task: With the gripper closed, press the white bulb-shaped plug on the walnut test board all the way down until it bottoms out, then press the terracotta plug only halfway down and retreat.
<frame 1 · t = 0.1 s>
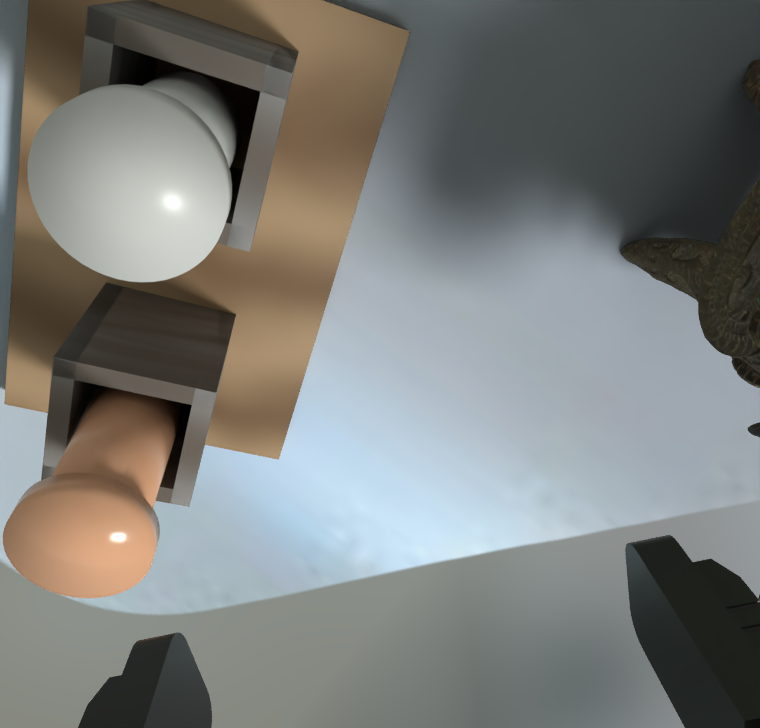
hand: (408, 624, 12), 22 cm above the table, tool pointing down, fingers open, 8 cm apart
vessel: (742, 199, 32), on the table
white bulb-shaped plug: (163, 154, 19), point 10 cm above the table, slide at 0.0 cm
board: (187, 232, 31), on the table
terracotta plug: (113, 469, 25), point 10 cm above the table, slide at 0.0 cm
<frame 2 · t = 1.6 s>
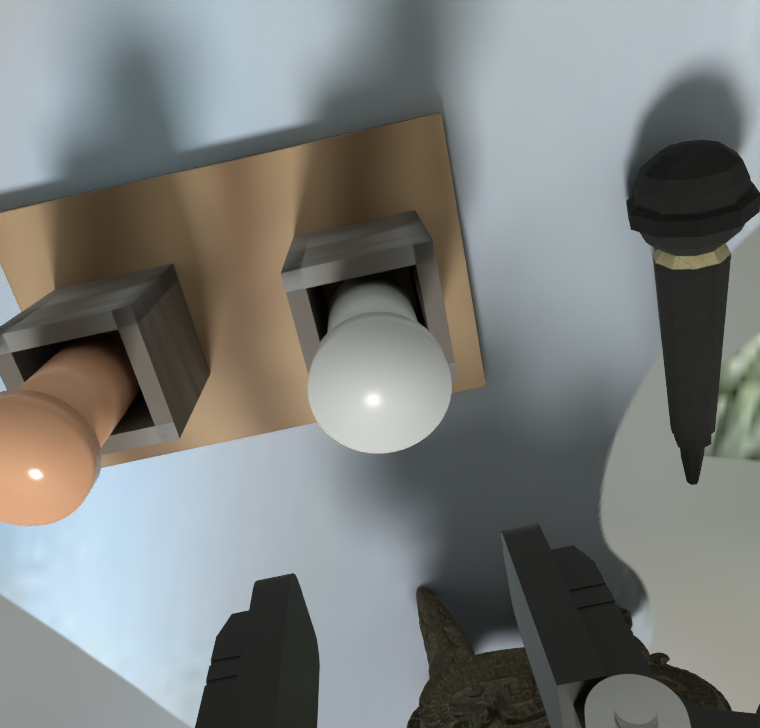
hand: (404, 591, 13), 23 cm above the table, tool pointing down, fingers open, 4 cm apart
vessel: (492, 629, 44), on the table
white bulb-shaped plug: (374, 346, 25), point 10 cm above the table, slide at 0.0 cm
board: (252, 302, 34), on the table
microphone: (661, 321, 36), on the table
terracotta plug: (66, 412, 25), point 10 cm above the table, slide at 0.0 cm
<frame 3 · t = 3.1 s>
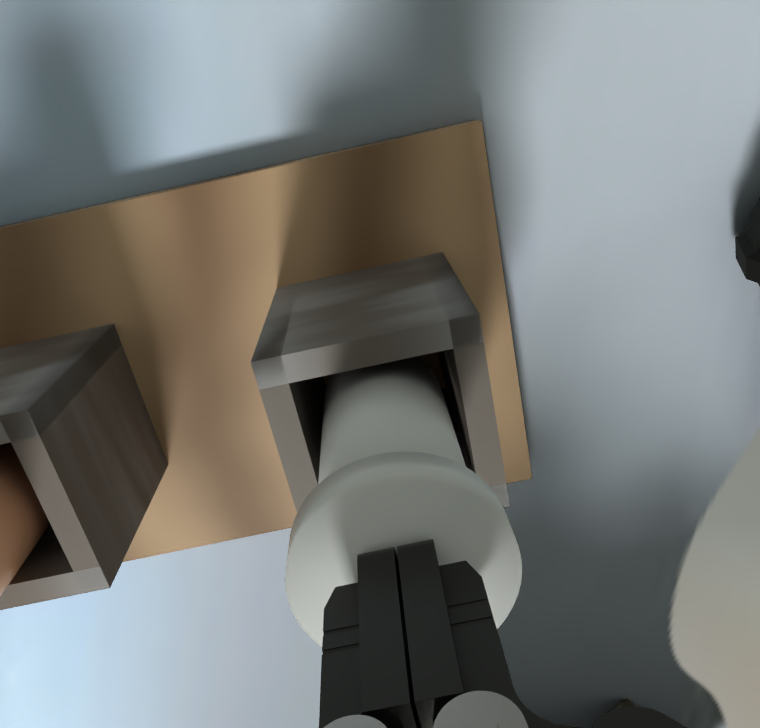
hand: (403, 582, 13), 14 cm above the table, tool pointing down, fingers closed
white bulb-shaped plug: (391, 472, 17), point 10 cm above the table, slide at 0.3 cm, touching gripper
board: (224, 370, 26), on the table
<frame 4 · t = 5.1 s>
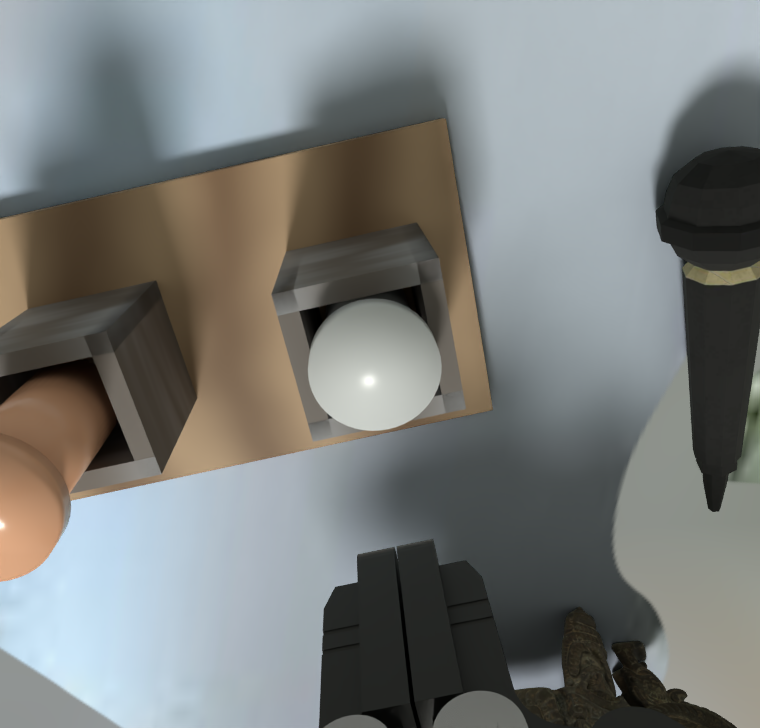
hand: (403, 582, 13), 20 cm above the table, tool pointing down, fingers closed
vessel: (498, 662, 41), on the table
white bulb-shaped plug: (370, 332, 27), point 6 cm above the table, slide at 4.4 cm
board: (242, 321, 32), on the table
microphone: (686, 338, 34), on the table
terracotta plug: (33, 449, 23), point 10 cm above the table, slide at 0.0 cm
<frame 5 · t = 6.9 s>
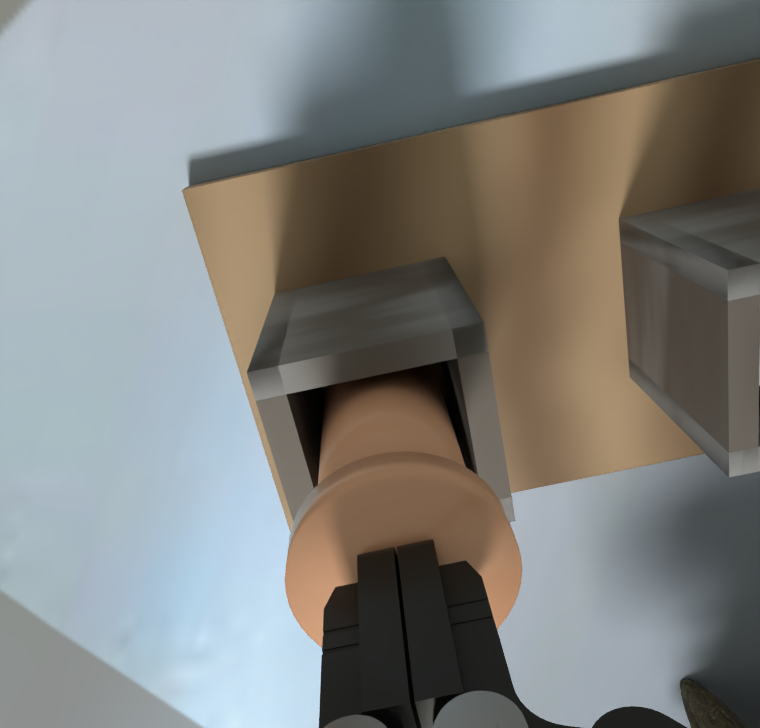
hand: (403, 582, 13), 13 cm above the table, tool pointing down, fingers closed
board: (534, 310, 25), on the table
terracotta plug: (391, 472, 17), point 9 cm above the table, slide at 1.0 cm, touching gripper
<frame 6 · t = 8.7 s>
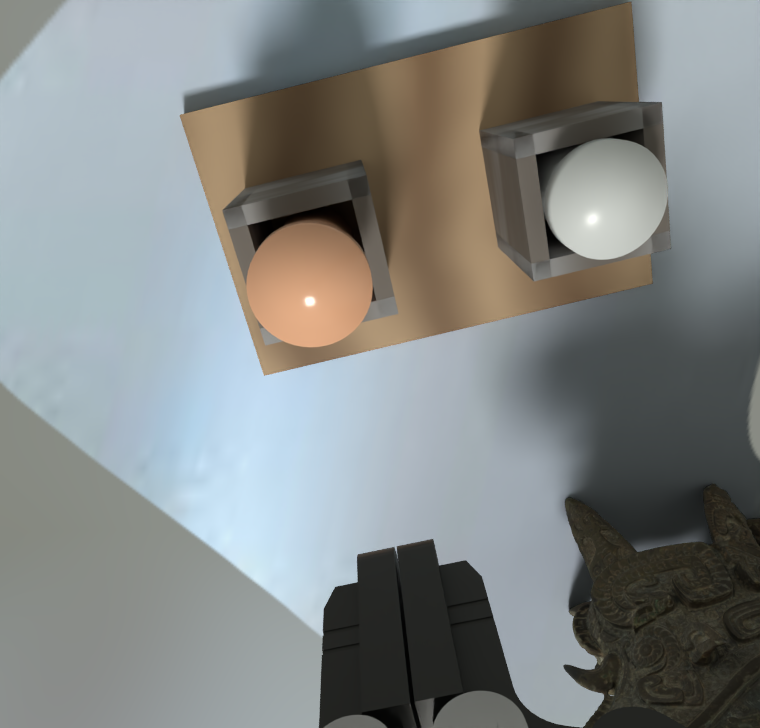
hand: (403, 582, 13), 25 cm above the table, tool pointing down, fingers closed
vessel: (634, 540, 44), on the table
white bulb-shaped plug: (576, 188, 30), point 6 cm above the table, slide at 4.4 cm
board: (429, 202, 35), on the table
terracotta plug: (313, 263, 28), point 8 cm above the table, slide at 2.2 cm
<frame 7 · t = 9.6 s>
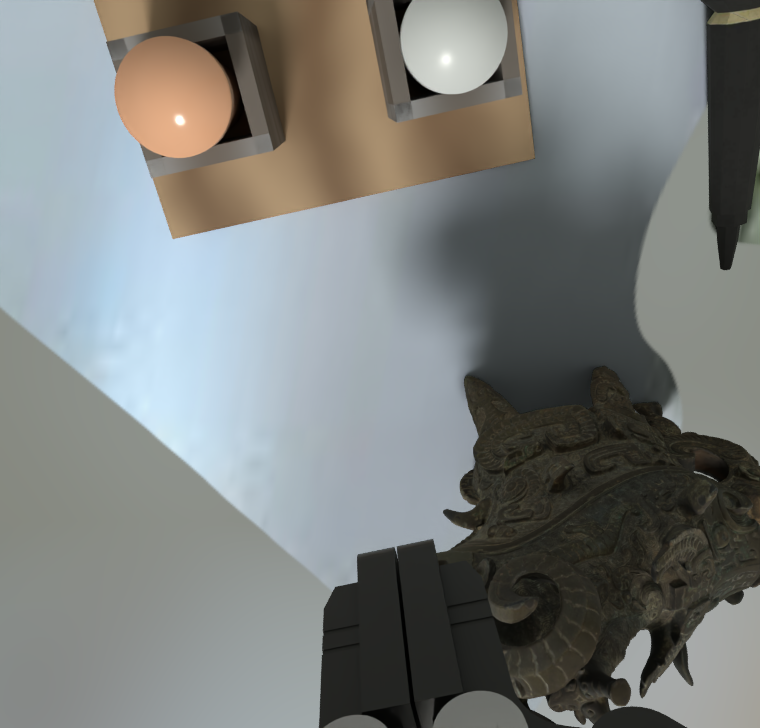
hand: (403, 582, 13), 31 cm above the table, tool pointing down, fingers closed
vessel: (532, 422, 47), on the table
white bulb-shaped plug: (442, 43, 32), point 6 cm above the table, slide at 4.4 cm
board: (324, 73, 38), on the table
microphone: (706, 103, 40), on the table
terracotta plug: (193, 98, 31), point 8 cm above the table, slide at 2.2 cm
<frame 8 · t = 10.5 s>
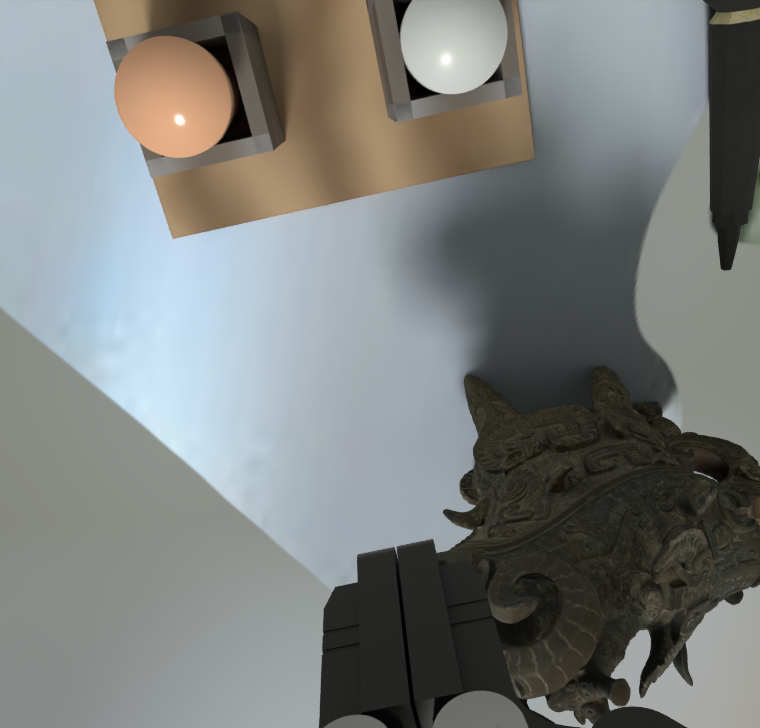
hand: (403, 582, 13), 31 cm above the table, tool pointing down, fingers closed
vessel: (532, 422, 47), on the table
white bulb-shaped plug: (442, 42, 32), point 6 cm above the table, slide at 4.4 cm
board: (324, 73, 38), on the table
microphone: (708, 103, 40), on the table
terracotta plug: (193, 97, 31), point 8 cm above the table, slide at 2.2 cm
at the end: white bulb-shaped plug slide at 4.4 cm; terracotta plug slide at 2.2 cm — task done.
